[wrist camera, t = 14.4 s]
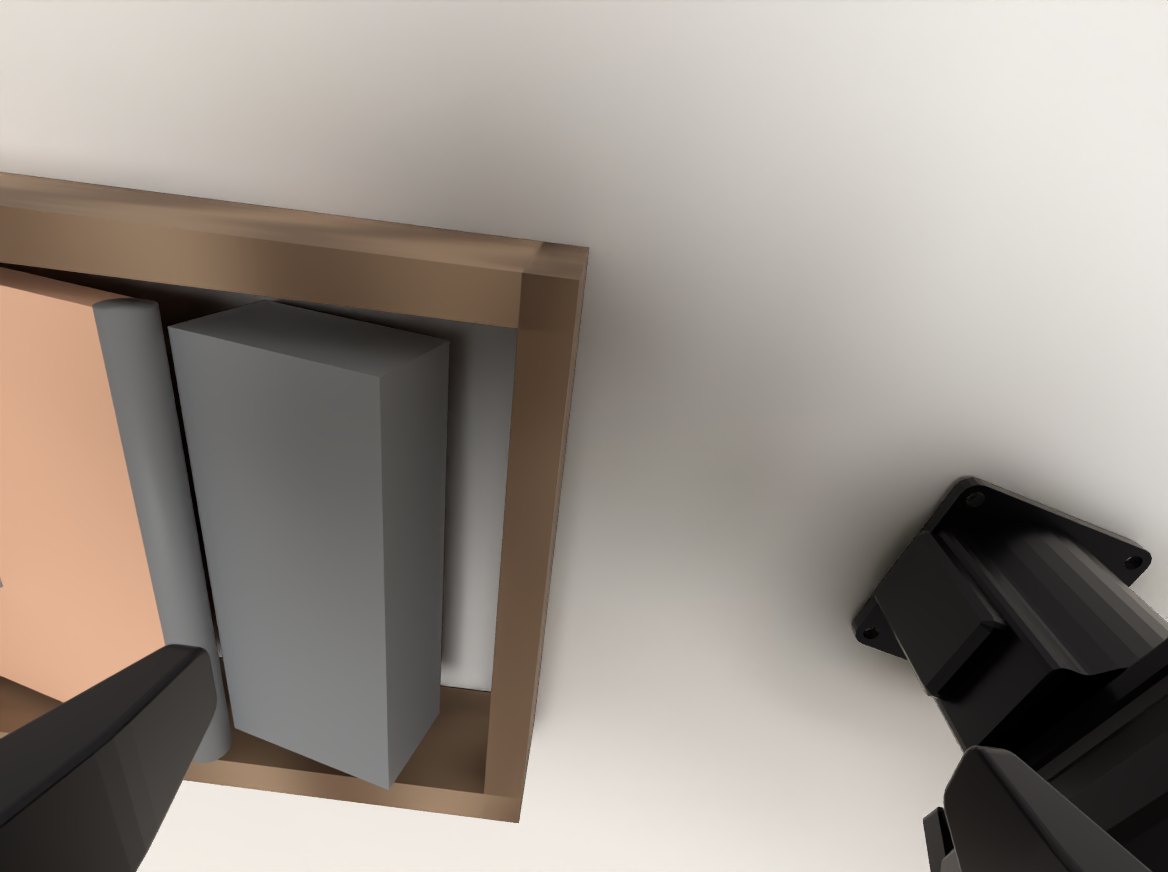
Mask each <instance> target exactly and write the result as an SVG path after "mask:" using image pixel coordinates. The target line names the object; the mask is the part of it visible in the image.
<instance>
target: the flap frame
mask: <svg viewBox="0 0 1168 872" xmlns="http://www.w3.org/2000/svg"><path fill="white" fill-rule="evenodd" d="M588 252H589V248H588V247H580V246H572V245H564V244H556V243H549V242H541V241H533V240H525V239H517V238H510V237H502V236H494V235H486V234H478V233H471V232H463V231H455V230H447V229H439V228H432V227H424V226H416V225H408V224H400V223H393V222H385V221H377V220H369V219H361V218H354V217H346V216H338V215H330V214H322V213H315V212H307V211H299V210H291V209H283V208H276V207H268V206H260V205H252V204H244V203H237V202H229V201H221V200H213V199H205V198H198V197H190V196H182V195H174V194H166V193H159V192H151V191H143V190H135V189H127V188H120V187H112V186H104V185H96V184H88V183H81V182H73V181H65V180H57V179H49V178H42V177H34V176H26V175H18V174H10V173H3V172H0V262H2V263H9V264H17V265H25V266H33V267H41V268H48V269H56V270H64V271H72V272H80V273H87V274H95V275H103V276H111V277H119V278H126V279H134V280H142V281H150V282H158V283H165V284H173V285H181V286H189V287H197V288H204V289H212V290H220V291H228V292H235V293H243V294H251V295H259V296H267V297H274V298H282V299H290V300H298V301H306V302H313V303H321V304H329V305H337V306H345V307H352V308H360V309H368V310H376V311H384V312H391V313H399V314H407V315H415V316H423V317H430V318H438V319H446V320H454V321H462V322H469V323H477V324H485V325H493V326H500V327H508V328H516V329H518V334H517V348H516V361H515V375H514V389H513V402H512V416H511V430H510V443H509V457H508V470H507V484H506V498H505V511H504V525H503V539H502V552H501V566H500V580H499V593H498V607H497V621H496V634H495V648H494V662H493V675H492V689H491V693H490V692H482V691H474V690H466V689H459V688H451V687H443V686H440V713H439V715H438V716H437V718H436V719H435V721H434V722H433V724H432V725H431V727H430V728H429V730H428V732H427V733H426V735H425V736H424V738H423V739H422V741H421V742H420V744H419V745H418V747H417V748H416V750H415V751H414V753H413V754H412V756H411V757H410V759H409V760H408V762H407V763H406V765H405V766H404V768H403V769H402V771H401V772H400V774H399V776H398V777H397V779H396V780H395V782H394V783H393V785H392V786H391V788H390V789H389V790H387V789H385V788H382V787H380V786H377V785H375V784H372V783H370V782H367V781H365V780H362V779H360V778H357V777H355V776H352V775H350V774H347V773H345V772H343V771H340V770H338V769H335V768H333V767H330V766H328V765H325V764H323V763H320V762H318V761H315V760H313V759H310V758H308V757H305V756H303V755H300V754H298V753H296V752H293V751H291V750H288V749H286V748H283V747H281V746H278V745H276V744H273V743H271V742H268V741H266V740H263V739H261V738H258V737H256V736H253V735H251V734H248V733H246V732H244V731H241V730H239V729H236V728H235V727H234V721H233V715H232V709H231V703H230V697H229V691H228V685H227V679H226V673H225V667H224V661H223V658H219V662H220V668H221V674H222V680H223V686H224V692H225V698H226V703H227V709H228V715H229V721H230V727H231V733H232V739H233V743H232V746H231V748H230V749H229V751H228V752H227V753H226V754H225V755H224V756H222V757H221V758H219V759H218V760H215V761H213V762H209V763H196V762H194V761H192V762H191V764H190V766H189V768H188V770H187V773H186V775H185V777H184V779H183V780H187V781H194V782H202V783H210V784H218V785H226V786H233V787H241V788H249V789H257V790H264V791H272V792H280V793H288V794H295V795H303V796H311V797H319V798H326V799H334V800H342V801H350V802H358V803H365V804H373V805H381V806H389V807H396V808H404V809H412V810H420V811H427V812H435V813H443V814H451V815H459V816H466V817H474V818H482V819H490V820H497V821H505V822H513V823H519V819H520V812H521V805H522V799H523V792H524V786H525V779H526V772H527V766H528V759H529V752H530V746H531V739H532V733H533V726H534V719H535V710H536V702H537V693H538V684H539V676H540V667H541V658H542V650H543V641H544V632H545V624H546V615H547V606H548V598H549V589H550V580H551V572H552V563H553V555H554V546H555V537H556V529H557V520H558V511H559V503H560V494H561V485H562V477H563V468H564V459H565V451H566V442H567V434H568V425H569V416H570V408H571V399H572V390H573V382H574V373H575V364H576V356H577V347H578V338H579V330H580V321H581V312H582V304H583V295H584V287H585V278H586V269H587V261H588ZM62 703H64V702H61V701H59V700H57V699H54V698H52V697H50V696H47V695H45V694H43V693H40V692H38V691H35V690H33V689H31V688H28V687H26V686H24V685H21V684H19V683H17V682H14V681H12V680H10V679H7V678H5V677H2V676H0V738H2V737H4V736H5V735H7V734H9V733H11V732H12V731H14V730H16V729H18V728H20V727H21V726H23V725H25V724H27V723H28V722H30V721H32V720H34V719H36V718H37V717H39V716H41V715H43V714H44V713H46V712H48V711H50V710H51V709H53V708H55V707H57V706H59V705H60V704H62Z"/></svg>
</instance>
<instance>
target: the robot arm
mask: <svg viewBox="0 0 1168 872" xmlns="http://www.w3.org/2000/svg"><path fill="white" fill-rule="evenodd" d="M975 492H978V494H977V496H976V497H974V498H973V499H971V500H967V497H968V496H969V495H970V494H972V493H975ZM1129 557H1131V558H1130V559H1129V560H1127V559H1128V558H1129ZM1126 560H1127V561H1126ZM1151 560H1152V557H1151V555H1150V553H1149V552H1148V551H1147V550H1145V549H1144V548H1143V547H1142V546H1140V545H1139V544H1138V543H1136V542H1134V541H1131V540H1129V539H1126V538H1124V537H1121V536H1119V535H1117V534H1114V533H1112V532H1109V531H1107V530H1104V529H1102V528H1099V527H1097V526H1094V525H1092V524H1089V523H1087V522H1084V521H1082V520H1079V519H1077V518H1074V517H1072V516H1069V515H1067V514H1064V513H1062V512H1059V511H1057V510H1055V509H1052V508H1050V507H1047V506H1045V505H1042V504H1040V503H1037V502H1035V501H1032V500H1030V499H1027V498H1025V497H1022V496H1020V495H1017V494H1015V493H1012V492H1010V491H1007V490H1005V489H1002V488H1000V487H997V486H995V485H993V484H990V483H988V482H985V481H983V480H980V479H976V478H970V479H965V480H963V481H961V482H959V483H958V484H957V485H956V486H955V487H954V488H953V489H952V491H951V492H950V493H949V495H948V496H947V497H946V499H945V500H944V501H943V503H942V504H941V505H940V507H939V508H938V509H937V511H936V512H935V513H934V514H933V516H932V517H931V518H930V520H929V521H928V522H927V524H926V525H925V526H924V528H923V529H922V530H921V532H920V533H919V534H918V535H917V536H916V537H915V538H914V540H913V541H912V542H911V544H910V545H909V546H908V547H907V549H906V550H905V551H904V553H903V554H902V555H901V557H900V558H899V559H898V561H897V562H896V563H895V565H894V566H893V567H892V569H891V570H890V571H889V573H888V574H887V575H886V577H885V578H884V579H883V581H882V582H881V583H880V584H879V586H878V587H877V588H876V590H875V592H874V594H873V595H872V596H871V598H870V599H869V600H868V602H867V603H866V604H865V606H864V607H863V608H862V610H861V611H860V612H859V614H858V615H857V616H856V617H855V619H854V620H853V622H852V630H853V632H854V634H855V637H856V638H857V640H858V641H859V642H861V643H862V644H865V645H867V646H870V647H873V648H876V649H879V650H881V651H884V652H887V653H890V654H892V655H895V656H898V657H901V658H903V659H906V660H908V661H909V663H910V665H911V667H912V669H913V671H914V673H915V674H916V676H917V678H918V680H919V682H920V684H921V686H922V688H923V689H924V691H925V693H926V694H927V695H928V696H931V697H933V698H934V700H935V702H936V704H937V706H938V707H939V709H940V711H941V713H942V715H943V717H944V718H945V720H946V722H947V724H948V726H949V728H950V730H951V731H952V733H953V735H954V737H955V739H956V741H957V742H958V744H959V746H960V748H961V750H962V752H963V756H962V758H961V760H960V762H959V764H958V766H957V768H956V769H955V771H954V773H953V775H952V777H951V779H950V781H949V783H948V784H947V786H946V789H945V793H944V808H942V807H938V808H936V809H935V810H934V811H932V812H931V813H930V814H929V815H927V816H926V817H925V818H923V824H924V831H925V837H926V844H927V851H928V857H929V864H930V870H931V872H1168V623H1167V622H1166V621H1165V620H1164V619H1163V618H1162V617H1161V616H1159V615H1158V614H1157V613H1156V612H1155V611H1154V610H1153V609H1152V608H1151V607H1150V606H1149V605H1147V604H1146V603H1145V602H1144V601H1143V600H1142V599H1141V598H1140V597H1139V596H1138V595H1136V594H1135V593H1134V592H1133V591H1132V590H1131V589H1130V588H1129V586H1130V585H1131V584H1132V583H1133V582H1134V581H1135V580H1136V579H1137V578H1138V577H1139V576H1140V575H1141V574H1142V573H1143V572H1144V571H1145V570H1146V569H1147V568H1148V566H1149V565H1150V564H1151ZM869 627H874V628H872V629H871V630H868V631H865V629H867V628H869ZM216 705H217V693H216V688H215V682H214V677H213V671H212V666H211V660H210V656H209V653H208V652H207V651H206V649H205V648H202V647H197V646H189V645H181V644H169V645H166V646H164V647H162V648H160V649H158V650H156V651H154V652H153V653H151V654H149V655H147V656H145V657H144V658H142V659H140V660H138V661H137V662H135V663H133V664H131V665H129V666H128V667H126V668H124V669H122V670H121V671H119V672H117V673H115V674H114V675H112V676H110V677H108V678H106V679H105V680H103V681H101V682H99V683H98V684H96V685H94V686H92V687H90V688H89V689H87V690H85V691H83V692H82V693H80V694H78V695H76V696H75V697H73V698H71V699H69V700H67V701H66V702H64V703H62V704H60V705H59V706H57V707H55V708H53V709H51V710H50V711H48V712H46V713H44V714H43V715H41V716H39V717H37V718H36V719H34V720H32V721H30V722H28V723H27V724H25V725H23V726H21V727H20V728H18V729H16V730H14V731H12V732H11V733H9V734H7V735H5V736H4V737H2V738H0V872H136V871H137V869H138V867H139V866H140V864H141V862H142V860H143V859H144V857H145V855H146V854H147V852H148V850H149V848H150V846H151V844H152V842H153V840H154V838H155V836H156V834H157V832H158V830H159V828H160V826H161V824H162V822H163V820H164V818H165V816H166V814H167V812H168V810H169V808H170V806H171V804H172V801H173V799H174V797H175V795H176V793H177V791H178V789H179V787H180V785H181V783H182V781H183V779H184V777H185V775H186V773H187V770H188V768H189V766H190V764H191V762H192V760H193V758H194V756H195V754H196V752H197V750H198V748H199V746H200V744H201V742H202V739H203V737H204V735H205V733H206V731H207V729H208V727H209V725H210V723H211V721H212V719H213V716H214V713H215V710H216Z"/></svg>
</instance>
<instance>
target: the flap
mask: <svg viewBox="0 0 1168 872" xmlns="http://www.w3.org/2000/svg"><path fill="white" fill-rule="evenodd" d="M168 332H169V338H170V344H171V350H172V356H173V362H174V368H175V374H176V380H177V386H178V392H179V398H180V404H181V410H182V416H183V422H184V428H185V434H186V440H187V446H188V452H189V458H190V463H191V469H192V475H193V481H194V487H195V493H196V499H197V505H198V511H199V517H200V523H201V529H202V535H203V541H204V547H205V553H206V559H207V565H208V571H209V577H210V583H211V589H212V595H213V601H214V607H215V613H216V619H217V625H218V631H219V637H220V643H221V649H222V655H223V661H224V667H225V673H226V679H227V685H228V691H229V697H230V703H231V709H232V715H233V721H234V727H235V728H236V729H239V730H241V731H244V732H246V733H248V734H251V735H253V736H256V737H258V738H261V739H263V740H266V741H268V742H271V743H273V744H276V745H278V746H281V747H283V748H286V749H288V750H291V751H293V752H296V753H298V754H300V755H303V756H305V757H308V758H310V759H313V760H315V761H318V762H320V763H323V764H325V765H328V766H330V767H333V768H335V769H338V770H340V771H343V772H345V773H347V774H350V775H352V776H355V777H357V778H360V779H362V780H365V781H367V782H370V783H372V784H375V785H377V786H380V787H382V788H385V789H387V790H389V789H390V788H391V786H392V785H393V783H394V782H395V780H396V779H397V777H398V776H399V774H400V772H401V771H402V769H403V768H404V766H405V765H406V763H407V762H408V760H409V759H410V757H411V756H412V754H413V753H414V751H415V750H416V748H417V747H418V745H419V744H420V742H421V741H422V739H423V738H424V736H425V735H426V733H427V732H428V730H429V728H430V727H431V725H432V724H433V722H434V721H435V719H436V718H437V716H438V715H439V713H440V677H441V639H442V601H443V564H444V526H445V488H446V450H447V412H448V374H449V340H444V339H440V338H435V337H431V336H426V335H422V334H417V333H413V332H408V331H403V330H399V329H394V328H390V327H385V326H381V325H376V324H372V323H367V322H363V321H358V320H353V319H349V318H344V317H340V316H335V315H331V314H326V313H322V312H317V311H312V310H308V309H303V308H299V307H294V306H290V305H285V304H281V303H276V302H272V301H267V300H262V301H259V302H255V303H251V304H248V305H244V306H240V307H237V308H233V309H229V310H226V311H222V312H218V313H215V314H211V315H207V316H204V317H200V318H196V319H193V320H189V321H185V322H182V323H178V324H174V325H171V326H168ZM0 578H1V581H2V584H3V587H1V588H0V676H2V677H5V678H7V679H10V680H12V681H14V682H17V683H19V684H21V685H24V686H26V687H28V688H31V689H33V690H35V691H38V692H40V693H43V694H45V695H47V696H50V697H52V698H54V699H57V700H59V701H61V702H66V701H67V700H69V699H71V698H73V697H75V696H76V695H78V694H80V693H82V692H83V691H85V690H87V689H89V688H90V687H92V686H94V685H96V684H98V683H99V682H101V681H103V680H105V679H106V678H108V677H110V676H112V675H114V674H115V673H117V672H119V671H121V670H122V669H124V668H126V667H128V666H129V665H131V664H133V663H135V662H137V661H138V660H140V659H142V658H144V657H145V656H147V655H149V654H151V653H153V652H154V651H156V650H158V649H160V648H162V647H164V646H166V645H169V644H181V645H189V646H197V647H202V648H205V649H206V651H207V652H208V653H209V656H210V660H211V666H212V671H213V677H214V682H215V688H216V693H217V705H216V710H215V713H214V716H213V719H212V721H211V723H210V725H209V727H208V729H207V731H206V733H205V735H204V737H203V739H202V742H201V744H200V746H199V748H198V750H197V752H196V754H195V756H194V758H193V760H192V761H194V762H196V763H209V762H213V761H215V760H218V759H219V758H221V757H222V756H224V755H225V754H226V753H227V752H228V751H229V749H230V748H231V746H232V743H233V739H232V733H231V727H230V721H229V715H228V709H227V703H226V698H225V692H224V686H223V680H222V674H221V668H220V662H219V657H218V651H217V645H216V639H215V633H214V627H213V621H212V616H211V610H210V604H209V598H208V592H207V586H206V581H205V575H204V569H203V563H202V557H201V551H200V545H199V540H198V534H197V528H196V522H195V516H194V510H193V504H192V499H191V493H190V487H189V481H188V475H187V469H186V463H185V458H184V452H183V446H182V440H181V434H180V428H179V422H178V417H177V411H176V405H175V399H174V393H173V387H172V381H171V376H170V370H169V364H168V358H167V352H166V346H165V340H164V335H163V329H162V323H161V317H160V311H159V305H158V303H157V302H156V301H153V300H149V299H143V298H133V297H129V296H124V295H120V294H116V293H111V292H107V291H103V290H98V289H94V288H90V287H85V286H81V285H77V284H72V283H68V282H64V281H59V280H55V279H51V278H46V277H42V276H38V275H34V274H29V273H25V272H21V271H16V270H12V269H8V268H3V267H0Z"/></svg>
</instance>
